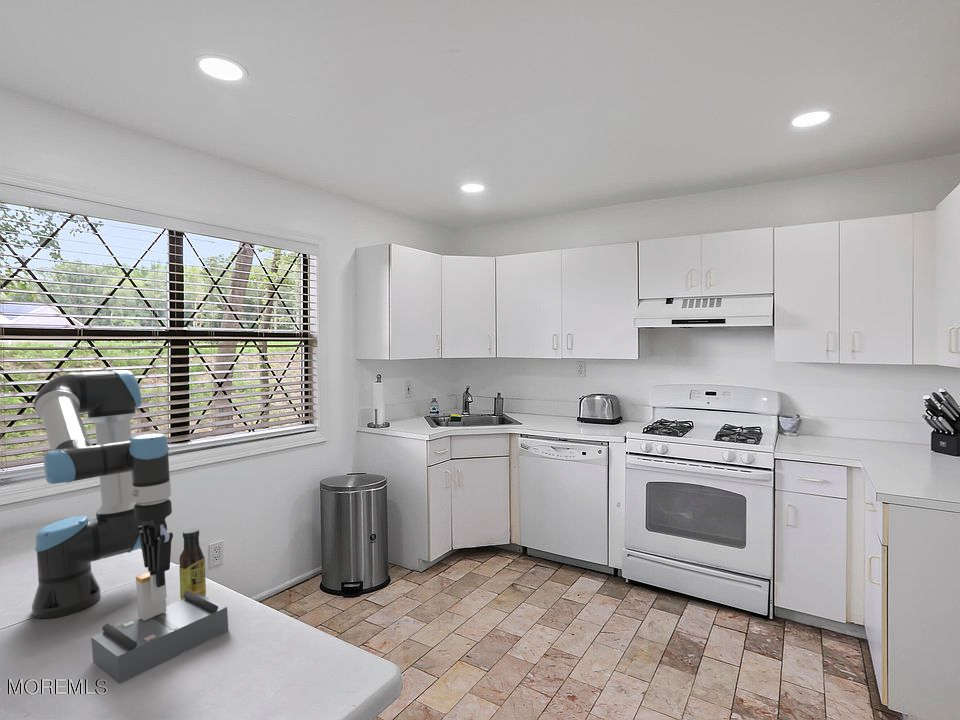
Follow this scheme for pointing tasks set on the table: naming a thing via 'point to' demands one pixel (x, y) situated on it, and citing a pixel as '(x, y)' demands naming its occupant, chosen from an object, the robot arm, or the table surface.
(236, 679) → the table surface
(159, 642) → the switch panel
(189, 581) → the sauce bottle
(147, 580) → the lever
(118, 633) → the pair of dark rails
